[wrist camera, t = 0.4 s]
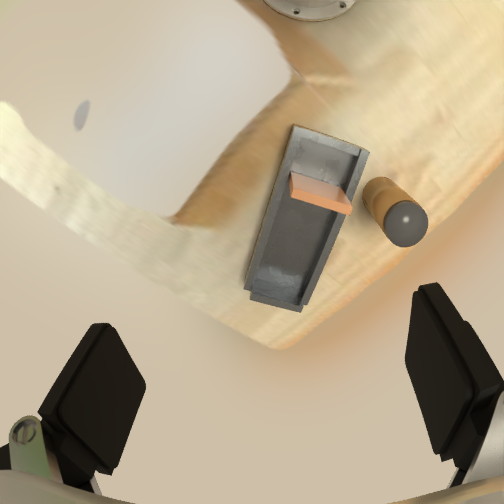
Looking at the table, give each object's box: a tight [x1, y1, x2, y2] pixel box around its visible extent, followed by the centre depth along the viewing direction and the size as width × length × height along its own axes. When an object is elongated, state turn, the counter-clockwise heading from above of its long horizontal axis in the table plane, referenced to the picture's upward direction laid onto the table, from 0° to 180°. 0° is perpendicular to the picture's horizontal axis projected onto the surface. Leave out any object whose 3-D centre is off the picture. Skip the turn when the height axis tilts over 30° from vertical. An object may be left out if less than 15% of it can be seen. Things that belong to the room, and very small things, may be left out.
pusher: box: [288, 172, 353, 216], centre depth 35 cm, size 1×6×7 cm, turn 74°
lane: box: [244, 124, 370, 313], centre depth 39 cm, size 22×9×5 cm, turn 165°
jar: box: [363, 177, 428, 247], centre depth 35 cm, size 5×5×10 cm
